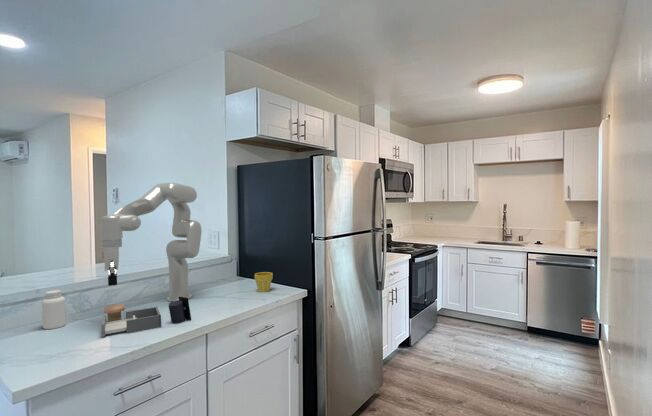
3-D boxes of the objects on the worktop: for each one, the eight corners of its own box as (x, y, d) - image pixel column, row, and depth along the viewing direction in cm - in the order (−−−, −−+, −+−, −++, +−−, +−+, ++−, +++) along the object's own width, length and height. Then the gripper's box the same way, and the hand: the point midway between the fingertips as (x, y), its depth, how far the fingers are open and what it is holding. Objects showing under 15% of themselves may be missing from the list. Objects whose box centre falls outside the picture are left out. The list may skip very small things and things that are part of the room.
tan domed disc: (104, 310, 156) (104, 305, 156) (124, 307, 160) (124, 302, 160) (103, 314, 149) (103, 309, 149) (124, 311, 153) (124, 306, 153)
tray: (137, 320, 155) (136, 309, 155) (139, 330, 142) (138, 318, 142) (103, 326, 148) (102, 315, 148) (102, 337, 136) (101, 324, 136)
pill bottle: (40, 331, 146) (39, 294, 145) (45, 325, 153) (44, 290, 153) (64, 327, 149) (63, 292, 149) (67, 322, 156) (66, 288, 156)
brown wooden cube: (108, 321, 155) (107, 310, 155) (121, 319, 158) (120, 308, 158) (107, 324, 151) (107, 313, 151) (121, 322, 154) (121, 311, 154)
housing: (157, 317, 159) (157, 306, 159) (161, 327, 146) (160, 315, 146) (125, 323, 153) (125, 311, 153) (126, 333, 140) (126, 320, 140)
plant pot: (276, 289, 205) (276, 273, 205) (262, 293, 197) (262, 276, 197) (265, 287, 212) (264, 271, 212) (251, 291, 204) (250, 274, 204)
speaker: (186, 316, 159) (183, 294, 157) (191, 320, 154) (188, 297, 153) (168, 322, 154) (166, 299, 152) (173, 326, 149) (171, 302, 148)
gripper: (102, 243, 160) (103, 281, 160) (100, 246, 145) (101, 288, 145) (121, 241, 163) (122, 279, 163) (122, 244, 149) (123, 285, 149)
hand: (112, 283), depth 154 cm, fingers open, 9 cm apart
